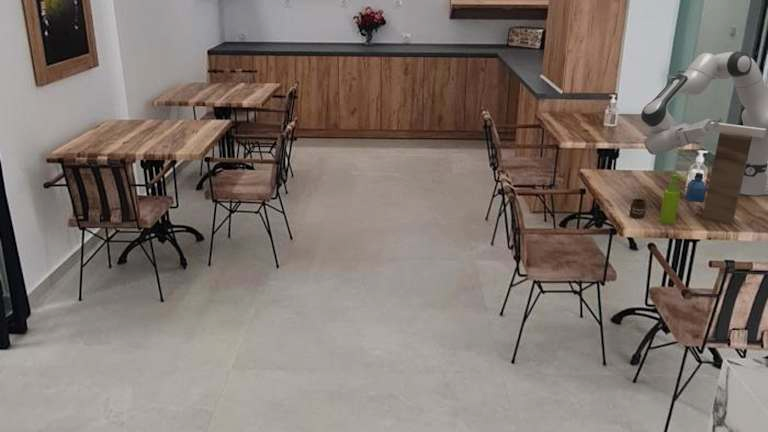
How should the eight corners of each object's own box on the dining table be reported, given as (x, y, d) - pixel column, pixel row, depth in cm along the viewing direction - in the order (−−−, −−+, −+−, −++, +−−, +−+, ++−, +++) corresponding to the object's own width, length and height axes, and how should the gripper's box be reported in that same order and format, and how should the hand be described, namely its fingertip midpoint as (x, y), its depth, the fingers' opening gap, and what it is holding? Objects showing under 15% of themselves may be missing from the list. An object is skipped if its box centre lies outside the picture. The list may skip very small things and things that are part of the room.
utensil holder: (628, 213, 276) (632, 186, 271) (643, 214, 275) (648, 187, 270) (630, 218, 270) (634, 190, 266) (646, 219, 269) (651, 192, 265)
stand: (705, 212, 278) (722, 129, 264) (734, 218, 272) (753, 133, 259) (702, 219, 271) (719, 133, 257) (731, 224, 265) (750, 137, 252)
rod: (709, 129, 264) (711, 121, 263) (764, 136, 254) (766, 128, 253) (708, 130, 262) (710, 123, 261) (763, 137, 252) (765, 130, 251)
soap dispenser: (674, 226, 263) (683, 178, 256) (656, 221, 267) (665, 175, 260) (679, 221, 267) (688, 175, 260) (661, 217, 271) (670, 171, 264)
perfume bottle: (703, 202, 290) (708, 176, 286) (688, 201, 291) (693, 175, 287) (700, 197, 296) (705, 172, 291) (685, 196, 297) (690, 171, 292)
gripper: (692, 136, 277) (726, 124, 268) (683, 146, 261) (719, 134, 252) (686, 122, 277) (721, 110, 268) (677, 132, 261) (713, 119, 252)
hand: (720, 121), depth 260 cm, fingers open, 8 cm apart
